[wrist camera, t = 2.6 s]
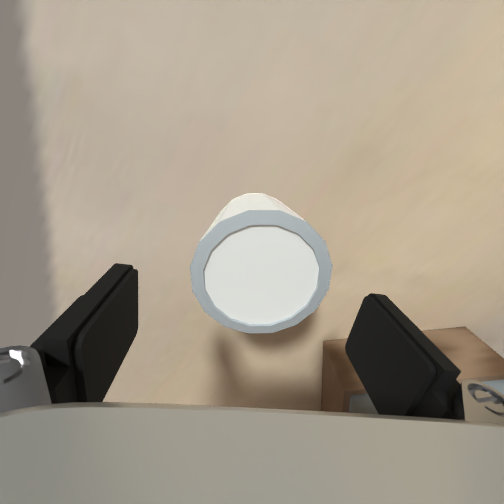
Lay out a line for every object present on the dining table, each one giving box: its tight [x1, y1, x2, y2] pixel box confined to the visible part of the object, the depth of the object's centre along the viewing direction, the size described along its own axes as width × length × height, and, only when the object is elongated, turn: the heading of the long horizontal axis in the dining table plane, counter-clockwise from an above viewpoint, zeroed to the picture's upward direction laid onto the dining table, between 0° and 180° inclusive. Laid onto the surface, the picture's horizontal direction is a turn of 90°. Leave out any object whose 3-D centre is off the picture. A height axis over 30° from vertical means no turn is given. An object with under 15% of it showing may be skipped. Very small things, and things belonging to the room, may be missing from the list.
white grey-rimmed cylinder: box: [190, 193, 332, 333], centre depth 15 cm, size 7×7×7 cm
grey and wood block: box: [321, 327, 504, 415], centre depth 21 cm, size 13×13×10 cm
